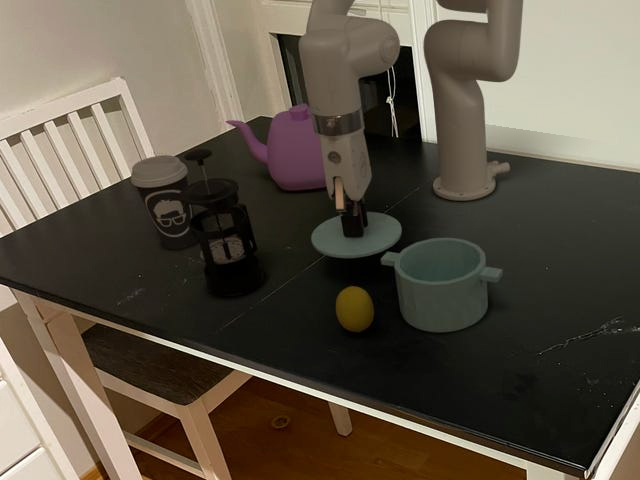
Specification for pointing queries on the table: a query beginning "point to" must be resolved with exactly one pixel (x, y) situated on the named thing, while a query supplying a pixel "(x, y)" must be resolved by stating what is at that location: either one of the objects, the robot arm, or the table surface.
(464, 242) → the pot
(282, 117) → the teapot
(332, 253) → the lid
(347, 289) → the lemon
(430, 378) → the table surface
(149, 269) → the table surface
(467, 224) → the table surface
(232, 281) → the french press
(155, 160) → the coffee cup
